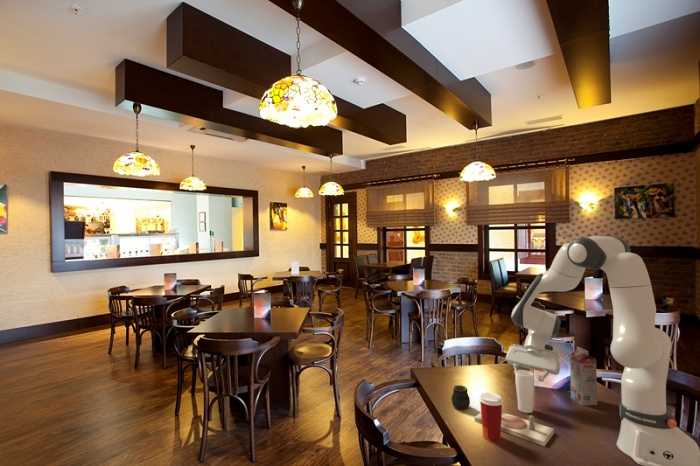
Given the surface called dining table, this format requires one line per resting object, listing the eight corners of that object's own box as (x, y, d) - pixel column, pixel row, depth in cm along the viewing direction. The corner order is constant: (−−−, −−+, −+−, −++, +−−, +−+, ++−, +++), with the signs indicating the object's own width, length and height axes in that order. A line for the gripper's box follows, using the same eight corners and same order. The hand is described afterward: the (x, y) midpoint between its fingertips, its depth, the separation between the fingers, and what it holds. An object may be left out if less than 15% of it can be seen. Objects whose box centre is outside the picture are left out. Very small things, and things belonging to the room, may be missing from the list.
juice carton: (581, 405, 146) (580, 351, 146) (571, 398, 153) (569, 346, 153) (597, 404, 146) (596, 351, 147) (586, 397, 153) (584, 346, 153)
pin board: (554, 433, 125) (553, 416, 125) (544, 446, 118) (544, 428, 118) (487, 410, 142) (486, 395, 142) (474, 421, 134) (474, 405, 134)
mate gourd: (472, 406, 146) (471, 381, 147) (467, 413, 140) (466, 388, 140) (454, 401, 150) (454, 378, 150) (449, 409, 144) (448, 384, 144)
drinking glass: (537, 415, 138) (536, 376, 138) (518, 414, 139) (517, 375, 140) (532, 407, 145) (531, 370, 145) (514, 406, 146) (513, 369, 146)
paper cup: (507, 437, 123) (506, 396, 123) (498, 446, 118) (497, 403, 118) (485, 428, 129) (484, 389, 129) (475, 437, 123) (474, 396, 124)
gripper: (508, 339, 158) (500, 367, 151) (560, 349, 144) (553, 380, 136) (512, 347, 161) (504, 375, 154) (563, 357, 147) (557, 388, 140)
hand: (528, 377), depth 145 cm, fingers open, 8 cm apart
